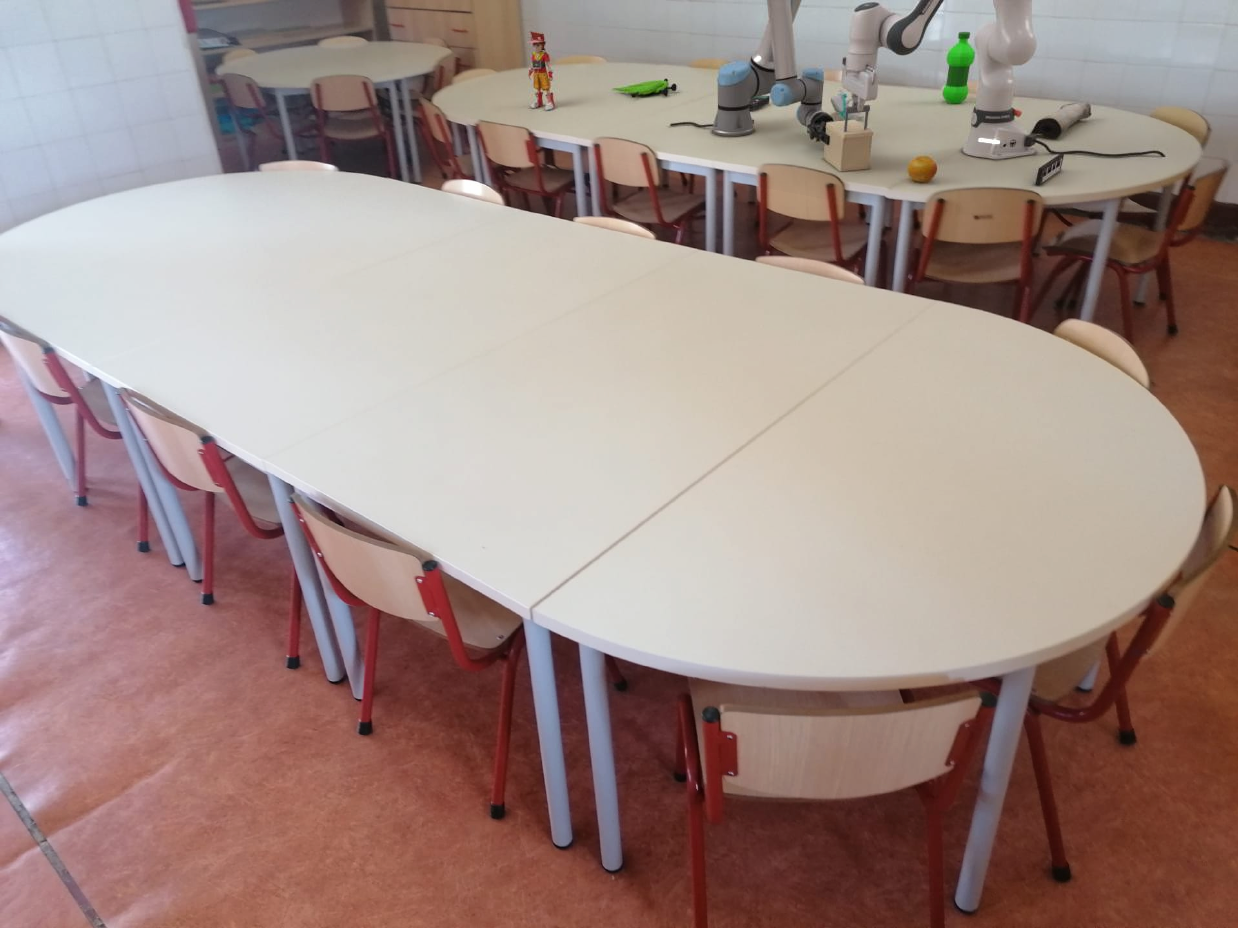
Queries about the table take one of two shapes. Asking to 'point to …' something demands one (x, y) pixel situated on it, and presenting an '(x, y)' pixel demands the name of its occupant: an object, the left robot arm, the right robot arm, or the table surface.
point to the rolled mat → (1061, 119)
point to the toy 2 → (648, 88)
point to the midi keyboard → (1049, 169)
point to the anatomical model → (843, 105)
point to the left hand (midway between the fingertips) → (843, 139)
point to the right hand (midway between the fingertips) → (857, 109)
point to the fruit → (922, 169)
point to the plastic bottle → (958, 69)
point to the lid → (851, 125)
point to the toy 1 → (541, 71)
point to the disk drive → (758, 102)
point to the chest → (848, 152)
